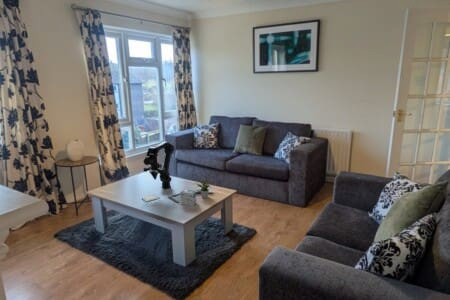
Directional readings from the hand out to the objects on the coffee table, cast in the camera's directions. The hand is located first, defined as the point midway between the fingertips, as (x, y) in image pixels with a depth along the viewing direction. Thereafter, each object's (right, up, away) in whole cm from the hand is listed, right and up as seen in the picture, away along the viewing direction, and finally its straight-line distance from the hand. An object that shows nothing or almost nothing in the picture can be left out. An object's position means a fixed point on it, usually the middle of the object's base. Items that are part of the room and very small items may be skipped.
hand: (155, 179), depth 249 cm
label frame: (+22, -15, -7) cm, 27 cm away
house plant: (+43, -14, -3) cm, 45 cm away
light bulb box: (+30, -18, -17) cm, 39 cm away
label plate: (-2, -15, -6) cm, 16 cm away
